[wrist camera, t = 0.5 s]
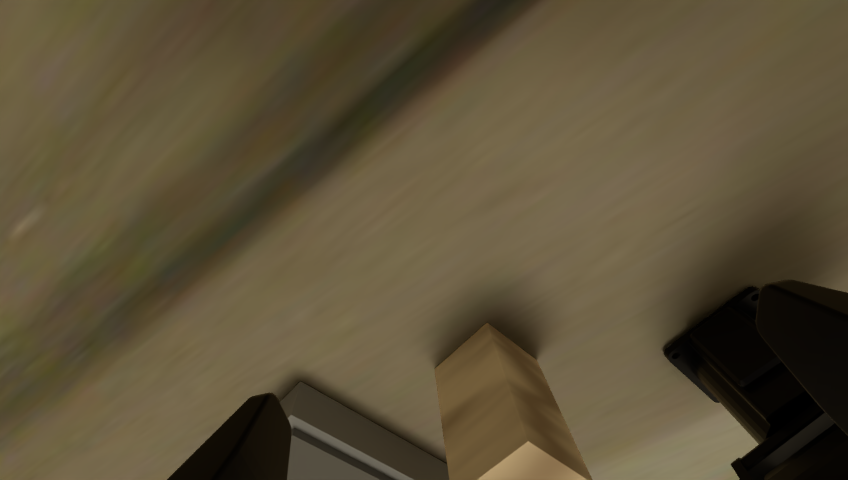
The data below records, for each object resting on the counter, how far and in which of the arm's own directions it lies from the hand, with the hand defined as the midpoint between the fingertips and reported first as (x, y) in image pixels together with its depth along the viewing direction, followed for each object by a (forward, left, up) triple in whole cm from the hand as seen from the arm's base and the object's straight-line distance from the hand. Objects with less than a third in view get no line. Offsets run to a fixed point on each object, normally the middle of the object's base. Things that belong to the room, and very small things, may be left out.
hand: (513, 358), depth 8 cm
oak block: (-11, +7, -14) cm, 19 cm away
